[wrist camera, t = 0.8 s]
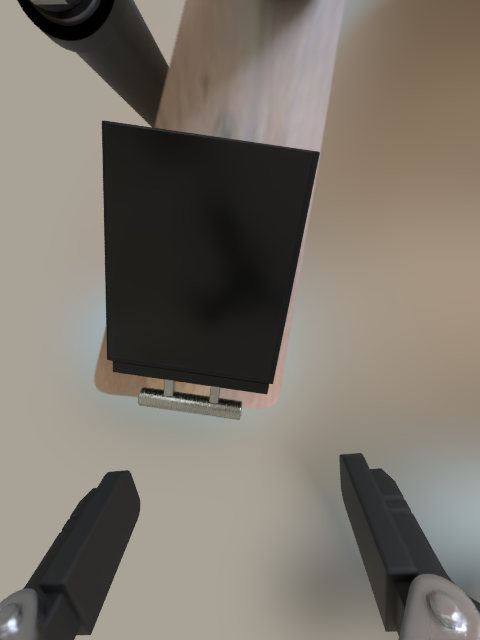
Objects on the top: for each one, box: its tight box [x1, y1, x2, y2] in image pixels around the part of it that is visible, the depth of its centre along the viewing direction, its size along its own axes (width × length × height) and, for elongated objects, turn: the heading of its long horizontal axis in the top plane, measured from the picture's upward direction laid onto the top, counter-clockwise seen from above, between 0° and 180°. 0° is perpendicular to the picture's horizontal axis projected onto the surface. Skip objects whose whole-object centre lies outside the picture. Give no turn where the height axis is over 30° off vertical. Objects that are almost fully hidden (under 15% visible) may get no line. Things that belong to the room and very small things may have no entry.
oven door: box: [113, 361, 269, 420], centre depth 29 cm, size 5×13×14 cm, turn 82°
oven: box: [102, 121, 320, 384], centre depth 27 cm, size 16×13×18 cm
